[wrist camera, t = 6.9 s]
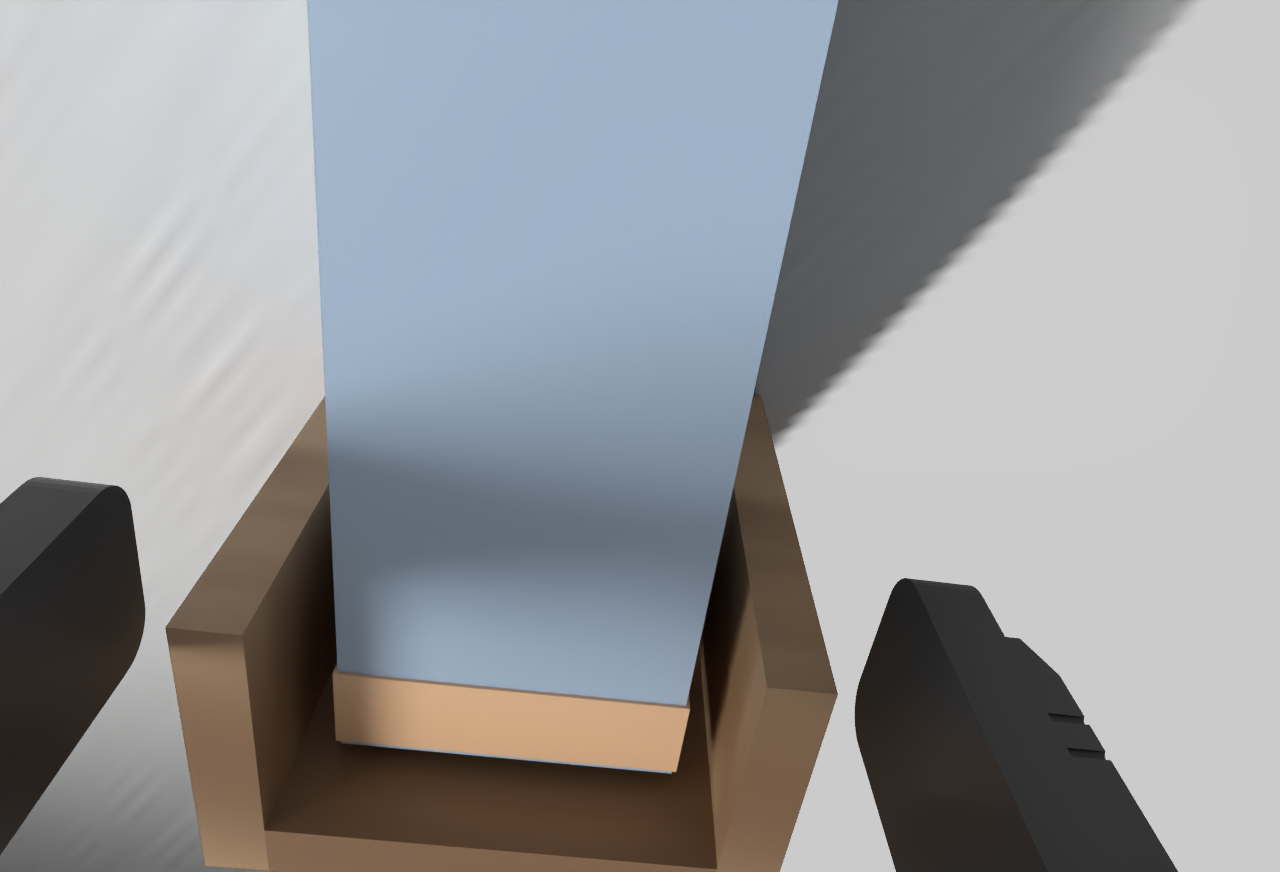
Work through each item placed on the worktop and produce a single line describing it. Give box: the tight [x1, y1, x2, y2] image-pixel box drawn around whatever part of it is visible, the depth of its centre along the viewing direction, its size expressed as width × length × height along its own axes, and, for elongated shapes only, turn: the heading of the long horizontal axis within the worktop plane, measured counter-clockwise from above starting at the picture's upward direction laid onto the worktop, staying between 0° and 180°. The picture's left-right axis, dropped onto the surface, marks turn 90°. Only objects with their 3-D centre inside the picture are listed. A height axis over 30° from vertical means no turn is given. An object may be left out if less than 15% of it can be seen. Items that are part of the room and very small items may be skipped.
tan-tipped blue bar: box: [307, 0, 839, 774], centre depth 11 cm, size 16×5×6 cm, turn 173°
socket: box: [166, 395, 838, 872], centre depth 14 cm, size 4×7×7 cm, turn 83°
